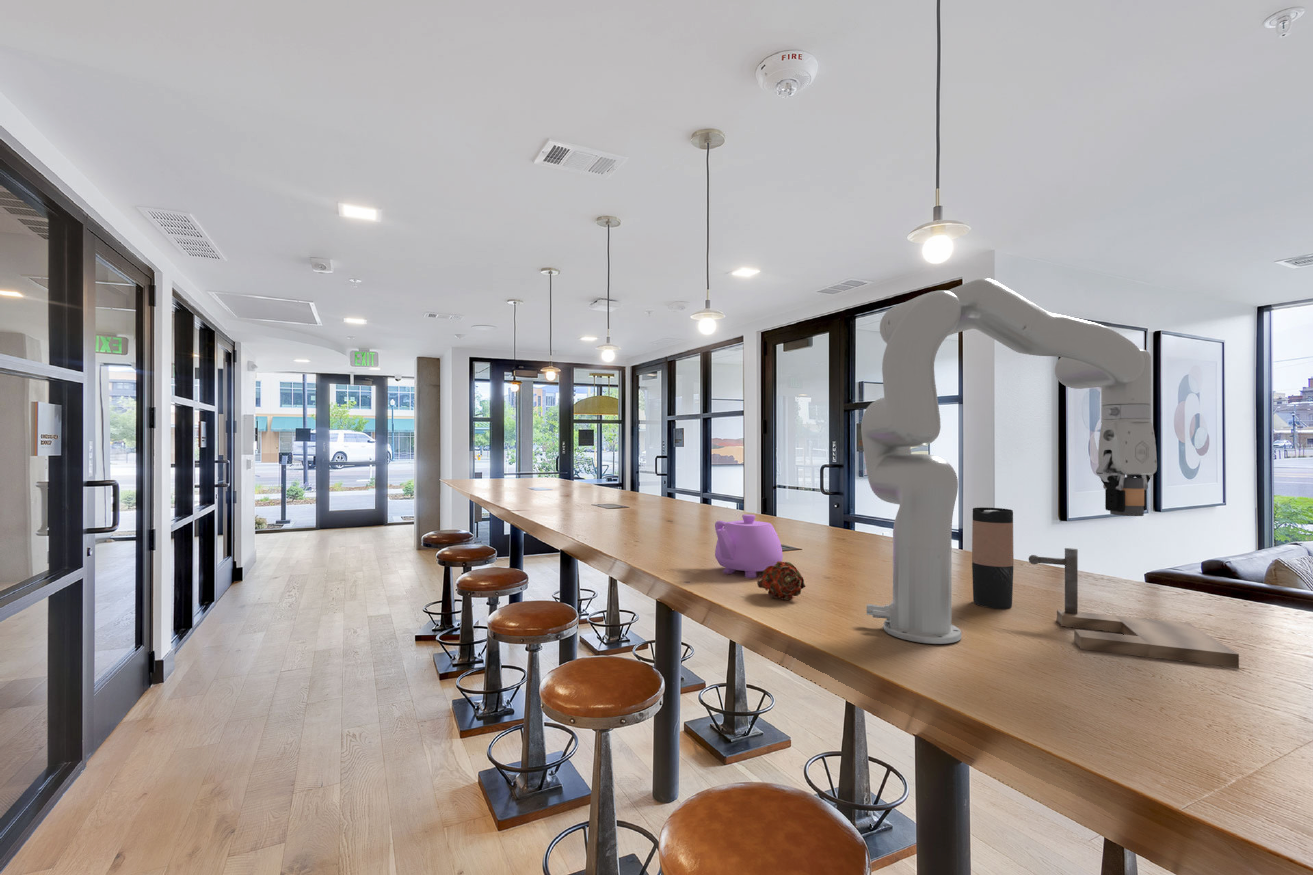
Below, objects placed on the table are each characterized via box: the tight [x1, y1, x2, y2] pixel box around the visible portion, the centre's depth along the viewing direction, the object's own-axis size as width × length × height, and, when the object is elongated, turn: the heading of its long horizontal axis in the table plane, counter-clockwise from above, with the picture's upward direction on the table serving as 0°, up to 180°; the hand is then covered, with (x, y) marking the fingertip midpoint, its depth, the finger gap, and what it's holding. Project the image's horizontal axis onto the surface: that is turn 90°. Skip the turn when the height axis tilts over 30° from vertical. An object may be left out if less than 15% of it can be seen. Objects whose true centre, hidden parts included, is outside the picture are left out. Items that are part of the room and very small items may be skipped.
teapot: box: [714, 514, 784, 579], centre depth 157 cm, size 20×20×15 cm
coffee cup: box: [1109, 476, 1145, 517], centre depth 115 cm, size 5×5×7 cm
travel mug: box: [971, 506, 1015, 610], centre depth 127 cm, size 8×8×20 cm
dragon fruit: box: [756, 561, 806, 601], centre depth 132 cm, size 8×8×12 cm
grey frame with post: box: [1028, 547, 1240, 669], centre depth 105 cm, size 25×18×14 cm
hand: (1125, 509), depth 115 cm, fingers closed on coffee cup, 5 cm apart
